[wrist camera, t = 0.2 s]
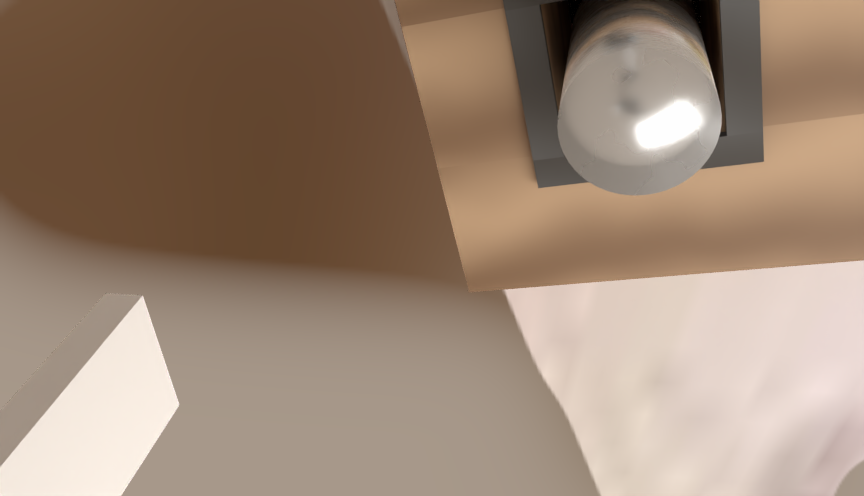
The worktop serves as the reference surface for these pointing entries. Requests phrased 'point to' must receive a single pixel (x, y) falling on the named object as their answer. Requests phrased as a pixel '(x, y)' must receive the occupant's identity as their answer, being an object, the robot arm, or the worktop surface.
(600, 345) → the worktop surface
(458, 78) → the socket block
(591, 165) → the peg
